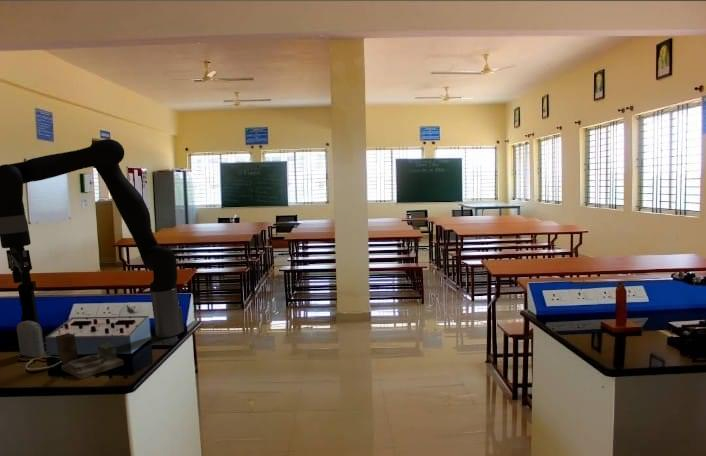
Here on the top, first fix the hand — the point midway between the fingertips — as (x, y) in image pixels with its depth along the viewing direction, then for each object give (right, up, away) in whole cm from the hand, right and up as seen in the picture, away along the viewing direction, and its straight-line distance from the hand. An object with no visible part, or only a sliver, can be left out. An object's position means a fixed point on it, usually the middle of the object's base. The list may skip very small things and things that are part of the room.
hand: (22, 283), depth 155 cm
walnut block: (+7, -28, +14) cm, 31 cm away
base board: (+18, -27, +6) cm, 33 cm away
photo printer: (-13, -28, +25) cm, 40 cm away
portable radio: (-26, -27, +48) cm, 61 cm away
